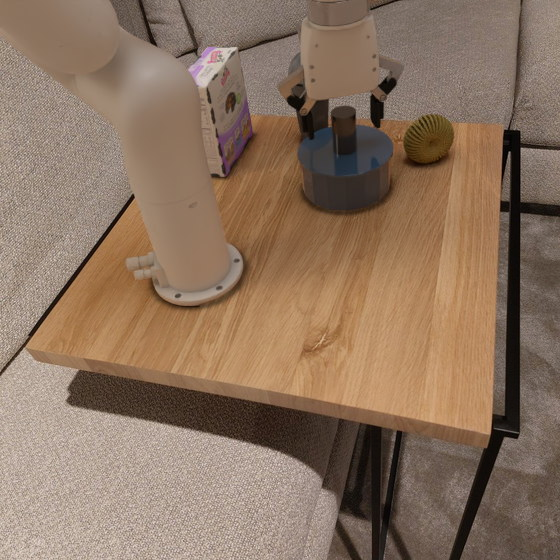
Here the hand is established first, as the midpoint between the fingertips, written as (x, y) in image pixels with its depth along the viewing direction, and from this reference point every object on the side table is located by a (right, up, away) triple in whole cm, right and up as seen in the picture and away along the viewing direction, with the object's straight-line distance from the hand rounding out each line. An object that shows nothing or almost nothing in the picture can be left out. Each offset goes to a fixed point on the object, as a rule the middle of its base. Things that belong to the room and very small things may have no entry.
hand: (342, 129), depth 85 cm
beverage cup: (-3, +3, +19) cm, 19 cm away
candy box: (-19, 0, +18) cm, 26 cm away
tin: (+1, -7, +7) cm, 10 cm away
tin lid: (+1, -3, +3) cm, 4 cm away
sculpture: (+15, -3, +10) cm, 18 cm away
